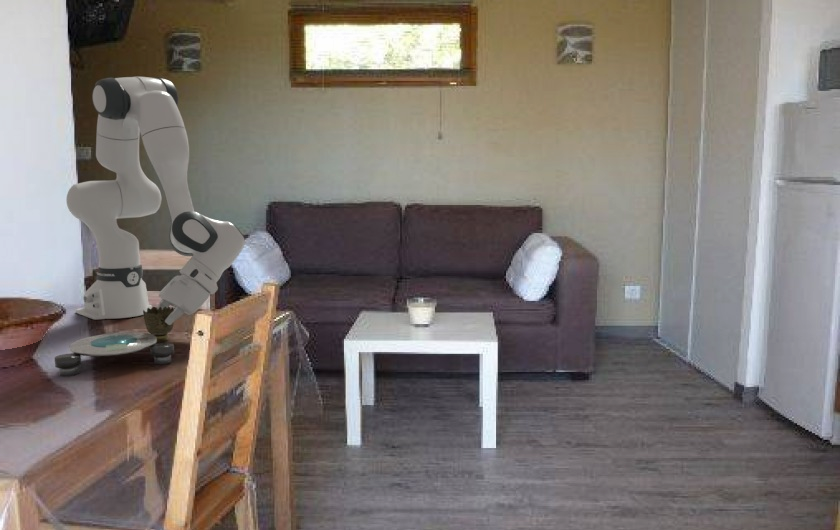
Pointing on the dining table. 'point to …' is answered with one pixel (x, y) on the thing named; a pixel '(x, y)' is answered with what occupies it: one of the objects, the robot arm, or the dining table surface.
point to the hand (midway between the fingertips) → (160, 319)
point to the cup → (158, 322)
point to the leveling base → (112, 349)
